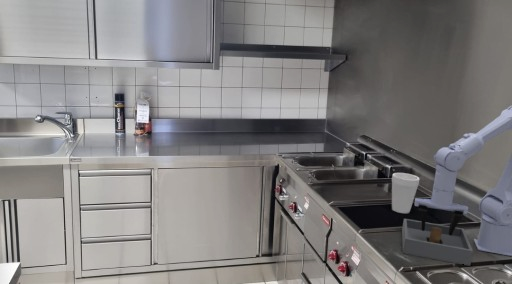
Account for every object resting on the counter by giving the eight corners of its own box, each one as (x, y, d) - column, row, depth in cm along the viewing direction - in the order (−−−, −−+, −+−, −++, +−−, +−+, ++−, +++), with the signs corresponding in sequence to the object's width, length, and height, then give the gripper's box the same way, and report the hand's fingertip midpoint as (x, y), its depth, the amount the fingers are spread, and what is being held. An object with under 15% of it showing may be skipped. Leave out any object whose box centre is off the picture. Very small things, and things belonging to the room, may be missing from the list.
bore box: (461, 242, 142) (463, 228, 141) (470, 266, 126) (473, 251, 125) (401, 231, 146) (403, 218, 145) (402, 253, 130) (405, 238, 129)
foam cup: (407, 206, 172) (412, 173, 169) (418, 215, 163) (424, 180, 160) (383, 205, 170) (388, 172, 168) (394, 214, 161) (399, 179, 159)
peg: (438, 246, 137) (441, 227, 136) (439, 250, 134) (442, 231, 133) (427, 244, 138) (430, 226, 137) (428, 248, 135) (431, 229, 134)
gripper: (468, 188, 134) (460, 231, 137) (417, 181, 138) (410, 222, 141) (472, 195, 127) (463, 240, 130) (418, 187, 131) (411, 231, 134)
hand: (436, 231), depth 135 cm, fingers open, 7 cm apart
